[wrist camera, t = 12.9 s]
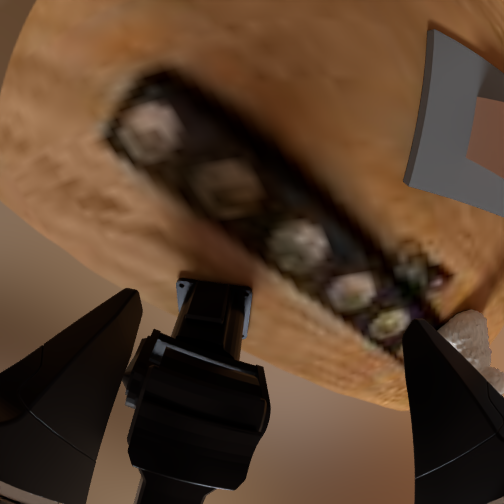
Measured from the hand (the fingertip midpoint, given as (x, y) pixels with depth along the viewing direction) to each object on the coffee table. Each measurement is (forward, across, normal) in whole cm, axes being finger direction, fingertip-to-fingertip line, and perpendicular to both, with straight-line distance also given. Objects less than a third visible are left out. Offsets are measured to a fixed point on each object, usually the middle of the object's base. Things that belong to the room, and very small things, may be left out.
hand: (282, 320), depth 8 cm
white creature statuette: (+12, -24, +13) cm, 30 cm away
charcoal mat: (+12, -16, -8) cm, 21 cm away
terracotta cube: (+11, -16, -8) cm, 21 cm away
